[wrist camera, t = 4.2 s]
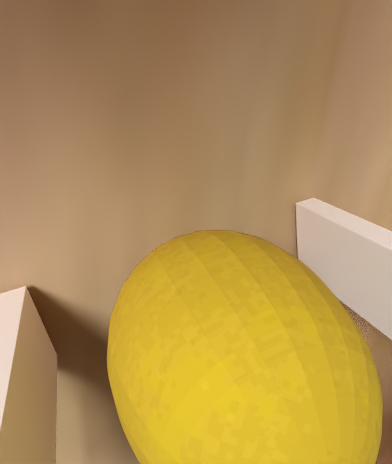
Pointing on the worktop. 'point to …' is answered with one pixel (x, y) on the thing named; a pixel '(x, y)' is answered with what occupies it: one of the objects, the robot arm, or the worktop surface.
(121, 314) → the lemon
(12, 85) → the worktop surface
